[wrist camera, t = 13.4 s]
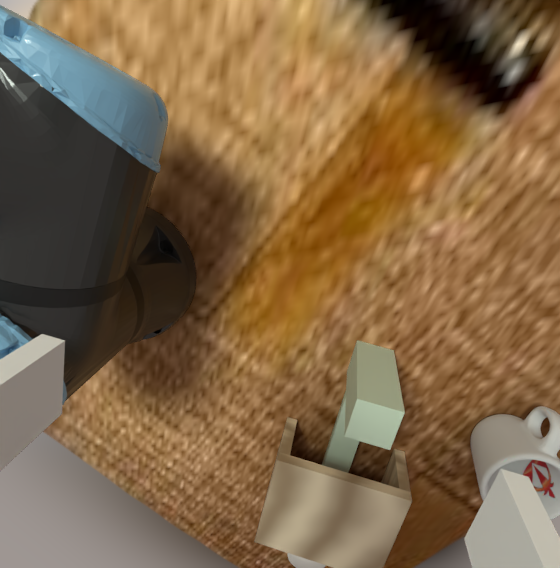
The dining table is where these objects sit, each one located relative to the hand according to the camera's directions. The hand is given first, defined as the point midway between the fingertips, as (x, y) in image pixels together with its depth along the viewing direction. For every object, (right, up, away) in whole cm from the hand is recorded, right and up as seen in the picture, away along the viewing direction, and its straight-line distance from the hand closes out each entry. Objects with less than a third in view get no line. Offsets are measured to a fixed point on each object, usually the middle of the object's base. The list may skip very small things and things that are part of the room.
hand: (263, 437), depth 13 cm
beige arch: (+7, -18, +39) cm, 44 cm away
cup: (+25, -11, +33) cm, 43 cm away
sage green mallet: (+8, -12, +36) cm, 39 cm away
